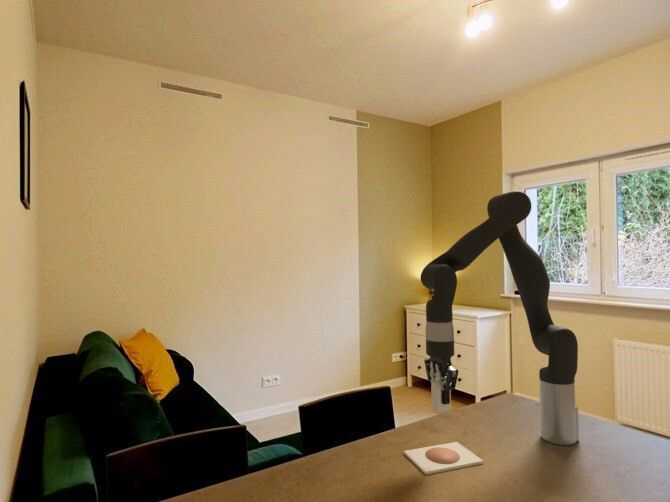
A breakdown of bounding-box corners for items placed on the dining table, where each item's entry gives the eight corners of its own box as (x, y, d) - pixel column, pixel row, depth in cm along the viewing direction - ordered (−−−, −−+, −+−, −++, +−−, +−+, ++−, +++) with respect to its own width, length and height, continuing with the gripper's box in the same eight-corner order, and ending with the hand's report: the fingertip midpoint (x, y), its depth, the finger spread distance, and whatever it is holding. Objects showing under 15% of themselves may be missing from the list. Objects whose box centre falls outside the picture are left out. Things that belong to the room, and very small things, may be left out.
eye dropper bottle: (454, 413, 110) (453, 368, 110) (433, 414, 110) (432, 369, 110) (449, 407, 114) (447, 364, 115) (429, 408, 114) (427, 364, 114)
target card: (456, 444, 120) (456, 441, 120) (483, 463, 108) (483, 460, 108) (404, 453, 115) (403, 450, 115) (425, 474, 103) (425, 471, 103)
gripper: (467, 341, 107) (469, 408, 106) (438, 332, 120) (439, 391, 120) (441, 343, 104) (443, 412, 104) (414, 334, 118) (416, 394, 118)
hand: (441, 400), depth 112 cm, fingers closed on eye dropper bottle, 3 cm apart
